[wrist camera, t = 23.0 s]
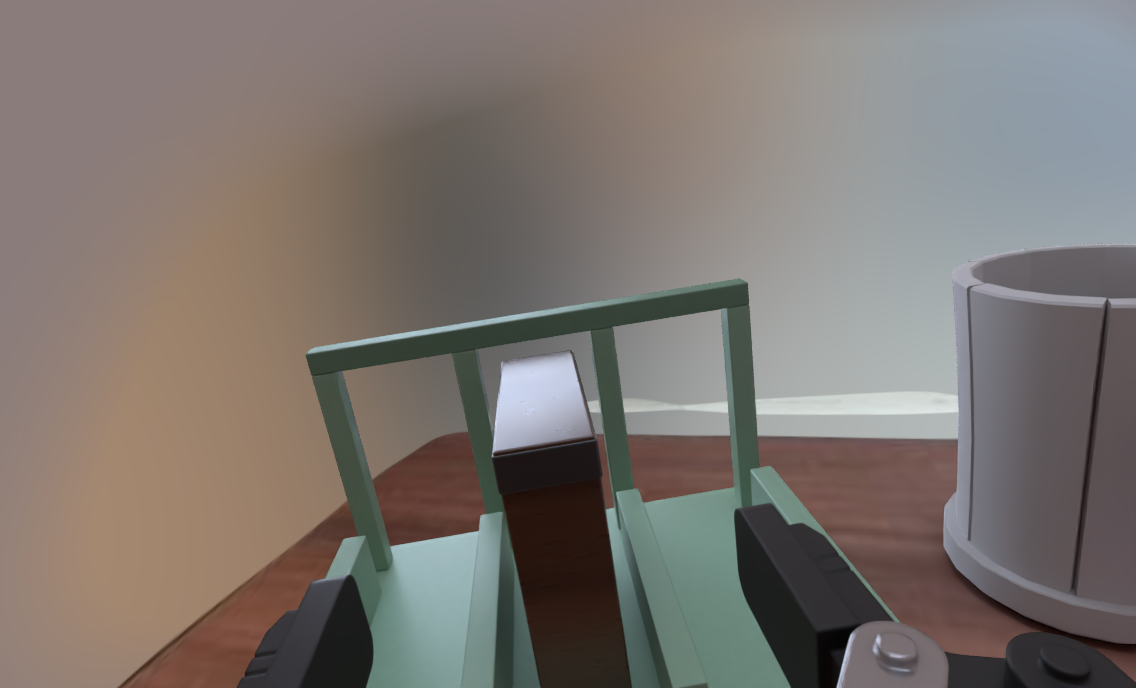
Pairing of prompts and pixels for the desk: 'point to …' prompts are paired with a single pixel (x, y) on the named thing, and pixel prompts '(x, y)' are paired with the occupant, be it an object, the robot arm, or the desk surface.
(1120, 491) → the cup
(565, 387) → the dark brown rectangular block
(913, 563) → the desk surface
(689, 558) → the rack
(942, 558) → the desk surface
